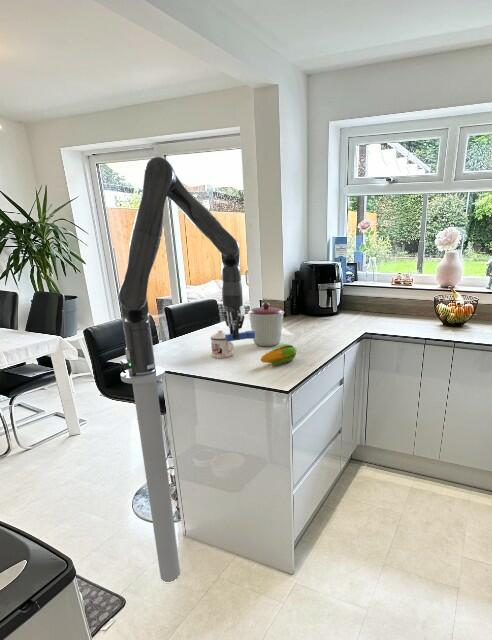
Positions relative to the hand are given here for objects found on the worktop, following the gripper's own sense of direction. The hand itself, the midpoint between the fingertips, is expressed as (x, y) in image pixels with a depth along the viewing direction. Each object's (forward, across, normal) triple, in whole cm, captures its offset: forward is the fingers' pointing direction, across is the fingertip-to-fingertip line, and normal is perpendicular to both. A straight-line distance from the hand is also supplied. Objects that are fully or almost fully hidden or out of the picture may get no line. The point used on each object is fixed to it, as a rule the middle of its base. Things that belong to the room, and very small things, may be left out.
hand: (234, 338), depth 156 cm
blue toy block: (+1, 0, +3) cm, 3 cm away
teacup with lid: (+13, -22, +6) cm, 27 cm away
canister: (+14, -30, +34) cm, 48 cm away
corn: (+14, +2, +20) cm, 24 cm away
